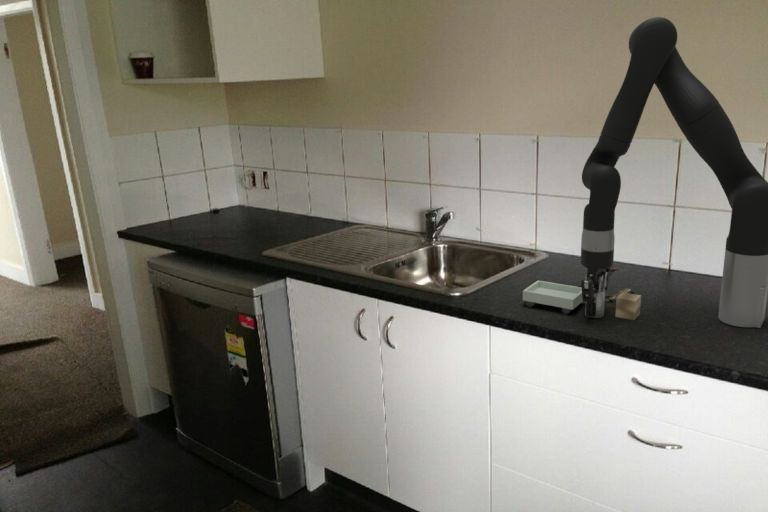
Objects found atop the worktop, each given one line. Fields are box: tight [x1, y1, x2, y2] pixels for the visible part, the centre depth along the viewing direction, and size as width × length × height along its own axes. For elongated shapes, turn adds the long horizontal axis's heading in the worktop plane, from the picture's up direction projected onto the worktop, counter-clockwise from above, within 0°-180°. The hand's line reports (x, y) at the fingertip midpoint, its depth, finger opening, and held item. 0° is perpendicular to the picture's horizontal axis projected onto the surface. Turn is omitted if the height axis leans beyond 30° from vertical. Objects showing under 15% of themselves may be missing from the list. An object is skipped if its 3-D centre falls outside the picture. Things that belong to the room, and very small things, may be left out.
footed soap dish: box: [522, 279, 584, 315], centre depth 166 cm, size 13×9×4 cm
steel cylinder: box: [584, 289, 606, 319], centre depth 158 cm, size 4×4×6 cm
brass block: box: [615, 292, 642, 321], centre depth 157 cm, size 4×4×5 cm
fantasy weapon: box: [577, 266, 635, 304], centre depth 178 cm, size 29×2×15 cm
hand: (594, 312), depth 159 cm, fingers closed on steel cylinder, 4 cm apart
